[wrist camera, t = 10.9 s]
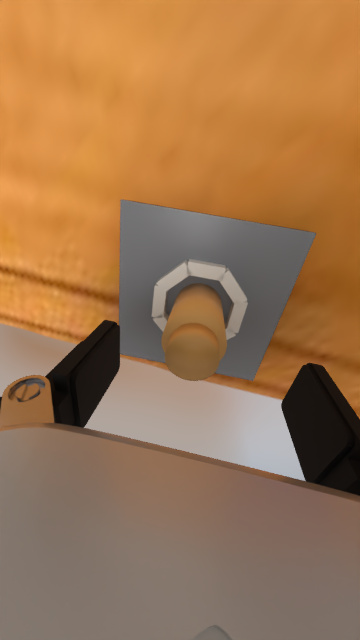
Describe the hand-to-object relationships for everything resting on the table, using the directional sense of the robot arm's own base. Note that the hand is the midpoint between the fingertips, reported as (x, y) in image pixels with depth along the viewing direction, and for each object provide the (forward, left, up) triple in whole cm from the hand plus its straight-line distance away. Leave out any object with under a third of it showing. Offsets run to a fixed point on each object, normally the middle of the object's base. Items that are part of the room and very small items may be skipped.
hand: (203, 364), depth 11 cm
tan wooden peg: (+1, 0, -8) cm, 8 cm away
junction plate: (+1, 0, -9) cm, 9 cm away
